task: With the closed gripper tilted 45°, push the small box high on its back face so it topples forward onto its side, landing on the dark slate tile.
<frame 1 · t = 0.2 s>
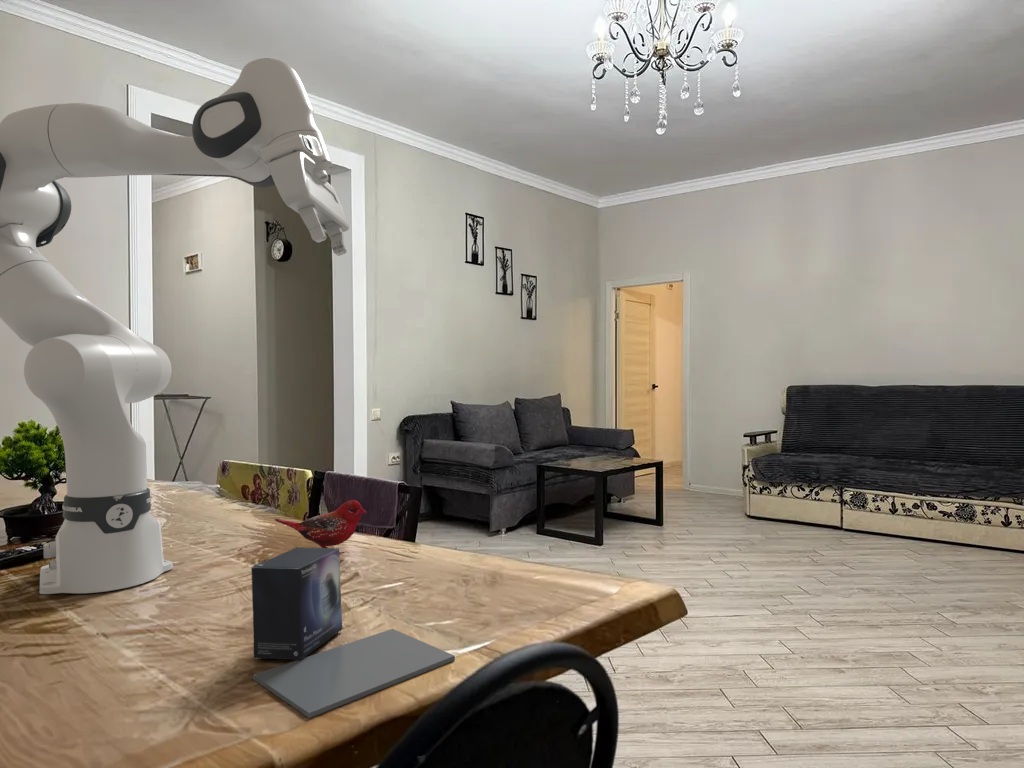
hand: (331, 247, 105), 52 cm above the table, tool tilted 20°, fingers open, 8 cm apart
slate tile: (356, 669, 76), on the table
decorative bird figurine: (320, 555, 124), on the table
small box: (301, 645, 83), on the table, touching slate tile
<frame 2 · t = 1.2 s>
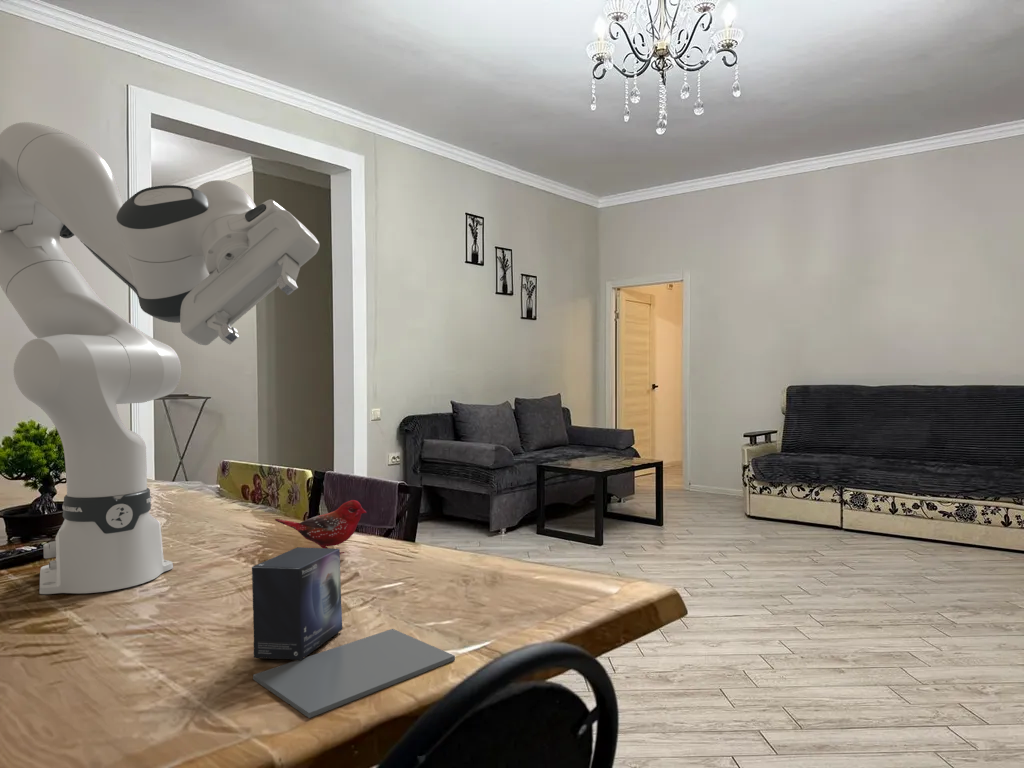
hand: (259, 313, 82), 40 cm above the table, tool tilted 50°, fingers open, 8 cm apart
nothing on the table moved.
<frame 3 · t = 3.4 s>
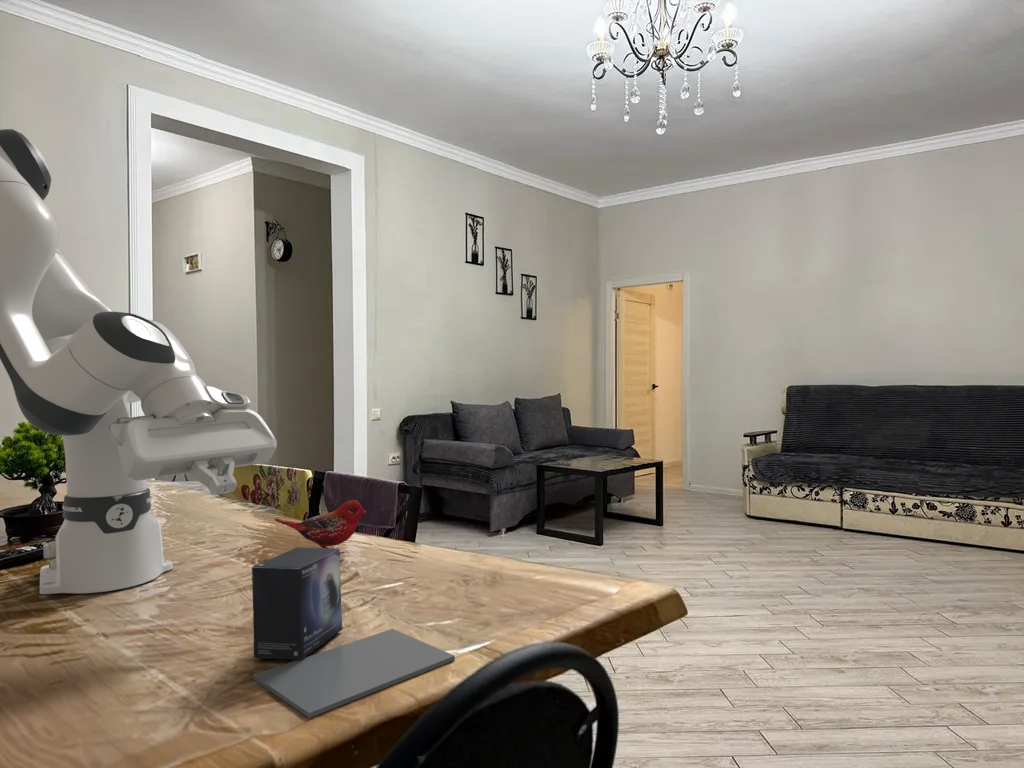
hand: (225, 490, 90), 17 cm above the table, tool tilted 45°, fingers closed
nothing on the table moved.
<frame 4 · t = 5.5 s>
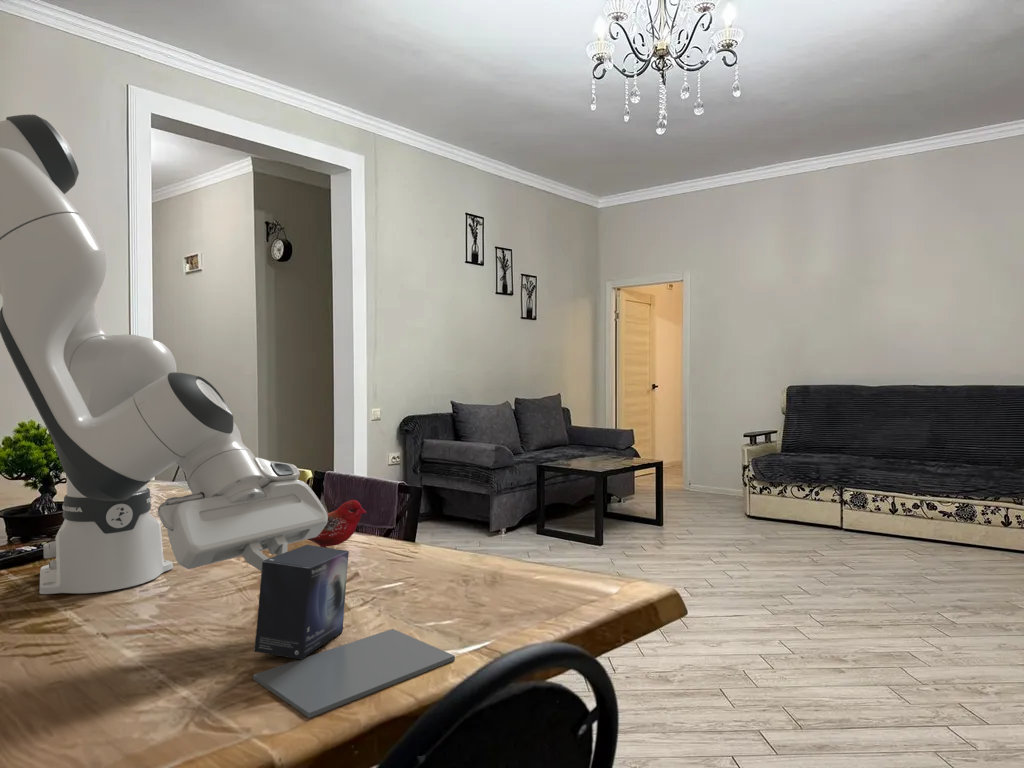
hand: (280, 575, 85), 8 cm above the table, tool tilted 45°, fingers closed
small box: (301, 644, 83), on the table, touching gripper, slate tile
everything else where it was.
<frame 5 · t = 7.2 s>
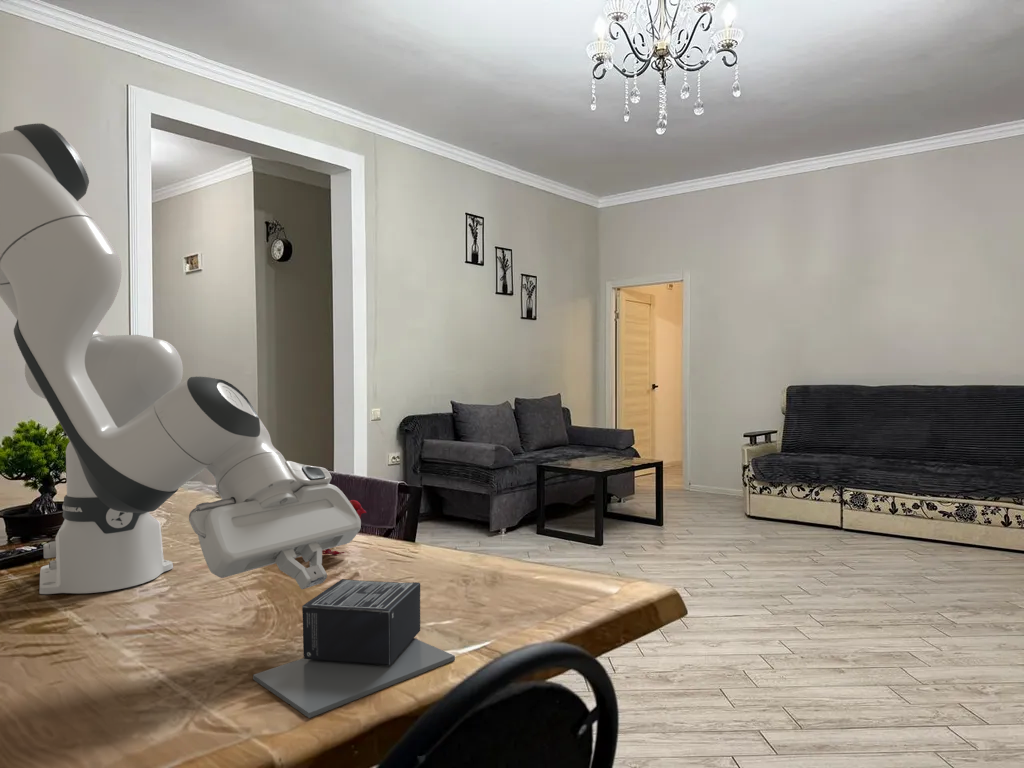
hand: (315, 583, 81), 8 cm above the table, tool tilted 45°, fingers closed
small box: (321, 617, 82), point 4 cm above the table, touching slate tile
everything else where it was.
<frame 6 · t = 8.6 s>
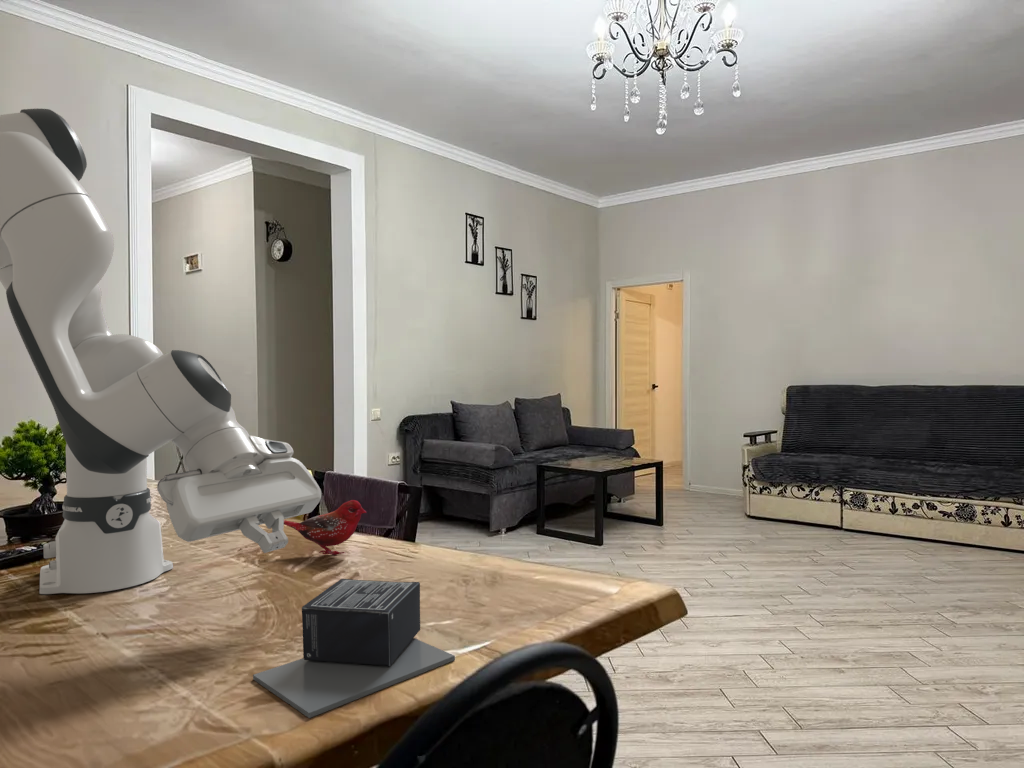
hand: (277, 547, 88), 11 cm above the table, tool tilted 45°, fingers closed
nothing on the table moved.
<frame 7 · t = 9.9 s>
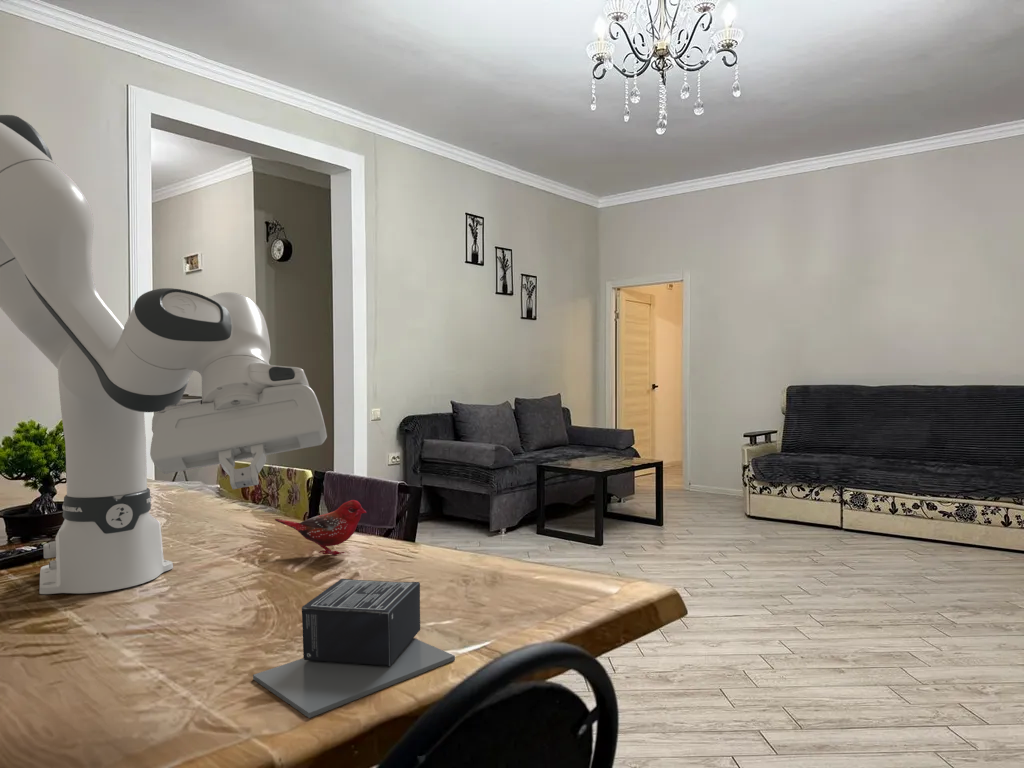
hand: (244, 484, 81), 20 cm above the table, tool tilted 40°, fingers closed
nothing on the table moved.
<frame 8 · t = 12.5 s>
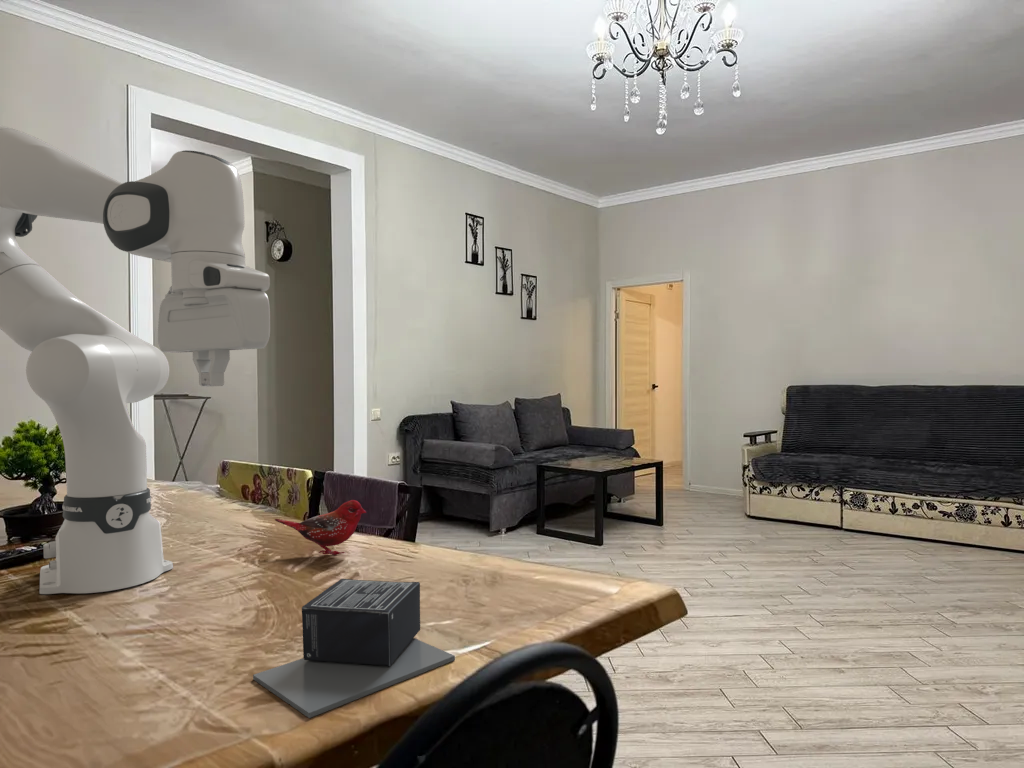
hand: (211, 386, 90), 31 cm above the table, tool pointing down, fingers closed
nothing on the table moved.
at the end: small box tilted 89°; small box inside the target area (4.6 cm from its centre), point 3.6 cm above the table; the gripper is holding nothing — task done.
